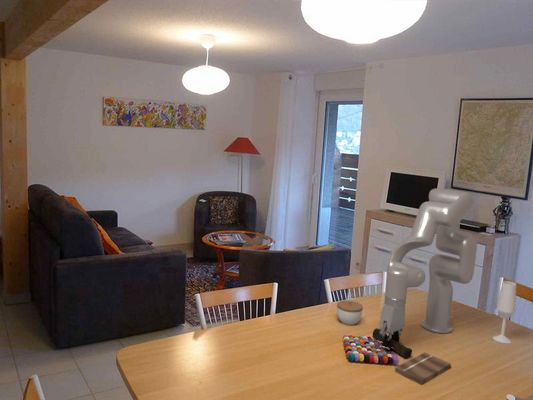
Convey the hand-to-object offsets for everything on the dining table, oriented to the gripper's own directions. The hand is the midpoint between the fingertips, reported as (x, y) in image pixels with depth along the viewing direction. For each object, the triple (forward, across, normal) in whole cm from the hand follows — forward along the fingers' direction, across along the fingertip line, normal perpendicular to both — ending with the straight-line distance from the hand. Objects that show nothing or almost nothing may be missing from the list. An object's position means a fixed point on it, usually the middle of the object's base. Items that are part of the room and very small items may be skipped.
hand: (390, 346), depth 172 cm
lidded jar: (+1, -6, -25) cm, 26 cm away
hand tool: (+1, 0, -1) cm, 1 cm away
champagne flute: (+1, -46, +22) cm, 51 cm away
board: (+1, +4, +16) cm, 17 cm away
